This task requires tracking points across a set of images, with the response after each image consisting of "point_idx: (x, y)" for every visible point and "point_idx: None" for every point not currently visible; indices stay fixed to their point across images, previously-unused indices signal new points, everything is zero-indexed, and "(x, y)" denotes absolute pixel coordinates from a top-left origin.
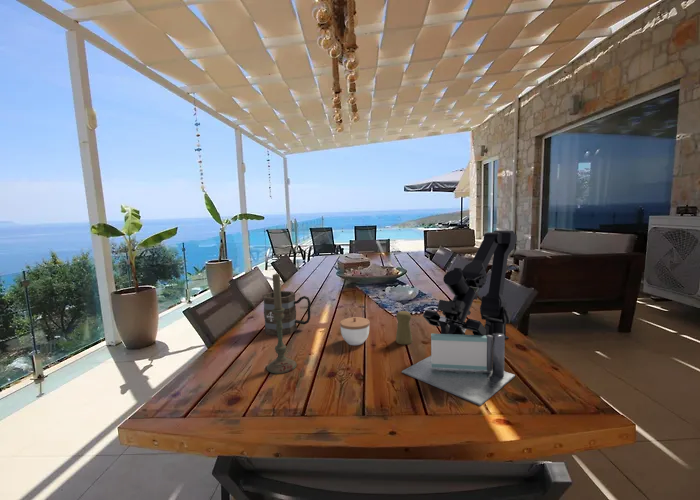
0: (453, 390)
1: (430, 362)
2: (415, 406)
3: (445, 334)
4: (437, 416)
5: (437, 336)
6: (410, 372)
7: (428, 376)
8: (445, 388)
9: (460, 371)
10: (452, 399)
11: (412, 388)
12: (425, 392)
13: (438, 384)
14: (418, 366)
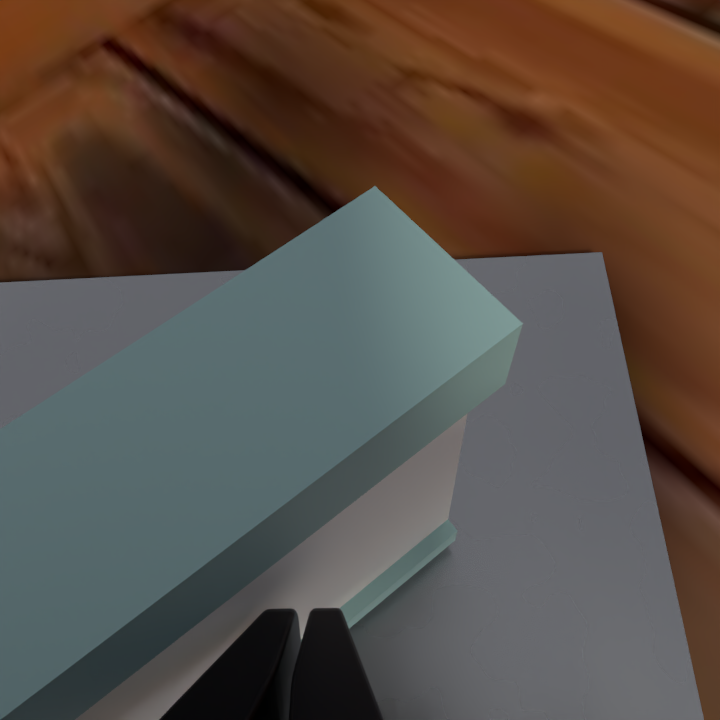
0: (40, 304)
1: (553, 656)
2: (196, 47)
3: (69, 604)
4: (46, 64)
5: (232, 288)
6: (521, 287)
7: None
8: (109, 284)
9: None
10: (26, 237)
11: (339, 155)
12: (231, 179)
13: (188, 297)
14: (569, 444)
